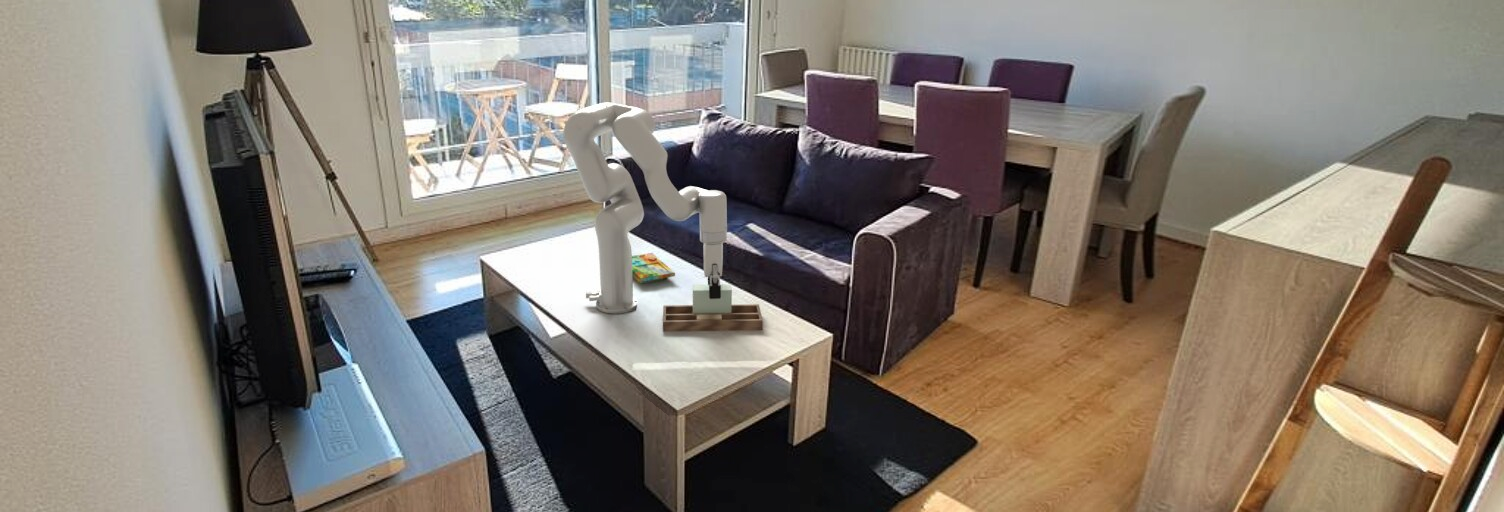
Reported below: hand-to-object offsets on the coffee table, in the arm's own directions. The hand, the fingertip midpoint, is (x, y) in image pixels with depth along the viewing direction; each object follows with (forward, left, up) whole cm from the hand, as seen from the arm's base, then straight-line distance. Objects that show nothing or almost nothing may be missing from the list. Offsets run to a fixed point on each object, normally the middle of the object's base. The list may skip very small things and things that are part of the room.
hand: (714, 291), depth 224 cm
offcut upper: (-2, -5, -7) cm, 9 cm away
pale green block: (-1, 0, -9) cm, 9 cm away
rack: (-1, -2, -10) cm, 10 cm away
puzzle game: (-21, +37, -11) cm, 44 cm away
